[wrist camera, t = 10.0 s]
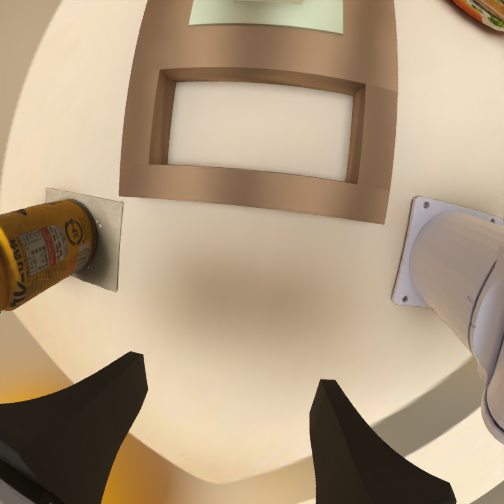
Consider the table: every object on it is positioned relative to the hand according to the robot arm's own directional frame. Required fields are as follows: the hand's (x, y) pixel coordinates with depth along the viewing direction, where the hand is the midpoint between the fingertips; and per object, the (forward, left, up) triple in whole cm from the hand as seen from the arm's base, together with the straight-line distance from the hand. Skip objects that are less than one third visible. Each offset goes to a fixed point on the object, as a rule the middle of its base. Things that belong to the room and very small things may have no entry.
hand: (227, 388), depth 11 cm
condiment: (+15, -2, -11) cm, 18 cm away
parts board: (+1, -16, -10) cm, 19 cm away
